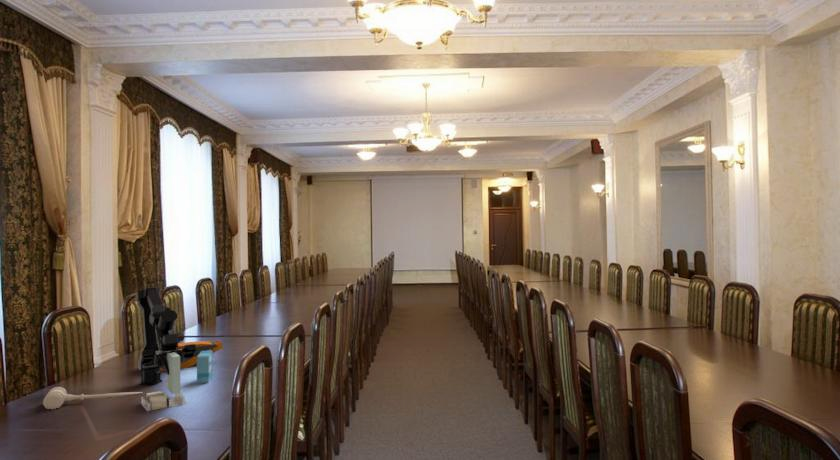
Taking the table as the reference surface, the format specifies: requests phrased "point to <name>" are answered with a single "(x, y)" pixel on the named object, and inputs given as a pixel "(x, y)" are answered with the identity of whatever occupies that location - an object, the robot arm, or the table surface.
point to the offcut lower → (158, 405)
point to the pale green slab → (173, 372)
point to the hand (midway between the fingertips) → (172, 373)
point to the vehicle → (200, 347)
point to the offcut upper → (156, 397)
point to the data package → (204, 367)
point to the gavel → (72, 397)
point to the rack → (175, 401)
